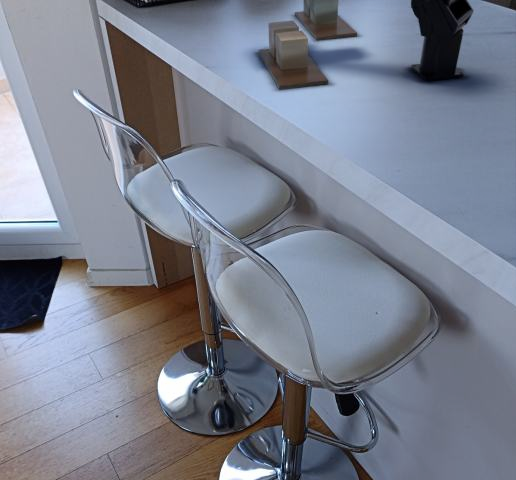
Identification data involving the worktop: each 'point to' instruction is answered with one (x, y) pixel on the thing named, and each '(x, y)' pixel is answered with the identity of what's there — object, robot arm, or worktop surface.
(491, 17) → the worktop surface
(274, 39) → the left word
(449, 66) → the robot arm
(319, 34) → the dark wooden base plate
